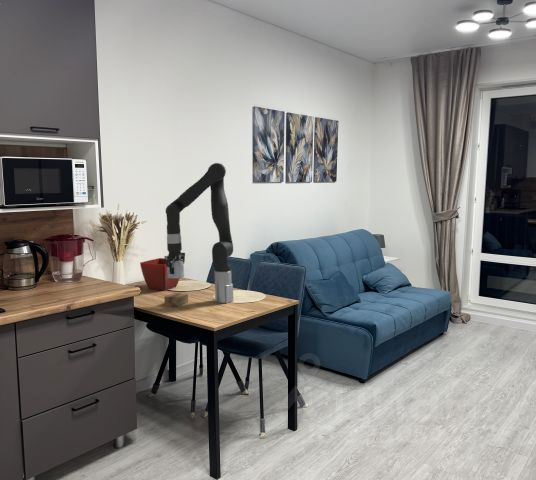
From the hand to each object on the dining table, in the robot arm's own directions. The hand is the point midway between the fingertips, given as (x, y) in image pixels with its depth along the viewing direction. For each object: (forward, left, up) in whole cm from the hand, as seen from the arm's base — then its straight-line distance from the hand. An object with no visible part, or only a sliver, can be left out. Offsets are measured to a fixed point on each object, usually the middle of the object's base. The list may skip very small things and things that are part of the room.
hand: (175, 273), depth 262 cm
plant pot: (+34, -24, -17) cm, 45 cm away
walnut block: (0, 0, -17) cm, 17 cm away
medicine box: (0, 0, -3) cm, 3 cm away
